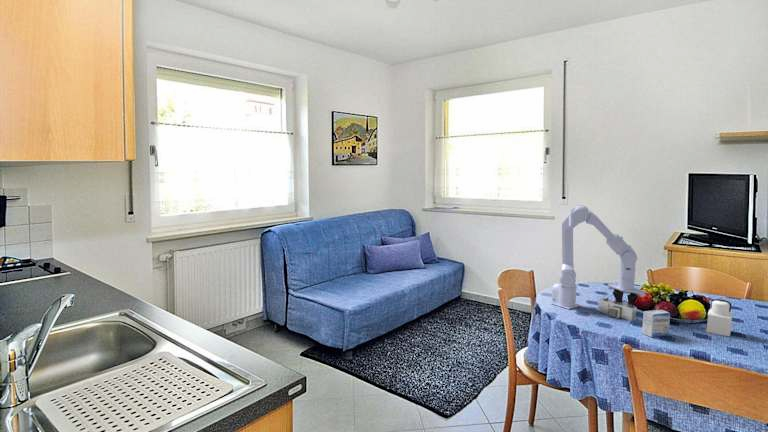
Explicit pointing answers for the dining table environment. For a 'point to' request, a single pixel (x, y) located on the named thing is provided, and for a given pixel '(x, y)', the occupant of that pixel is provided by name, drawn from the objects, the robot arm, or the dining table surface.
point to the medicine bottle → (719, 318)
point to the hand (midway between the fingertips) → (624, 309)
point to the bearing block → (627, 310)
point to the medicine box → (656, 323)
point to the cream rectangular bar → (616, 311)
